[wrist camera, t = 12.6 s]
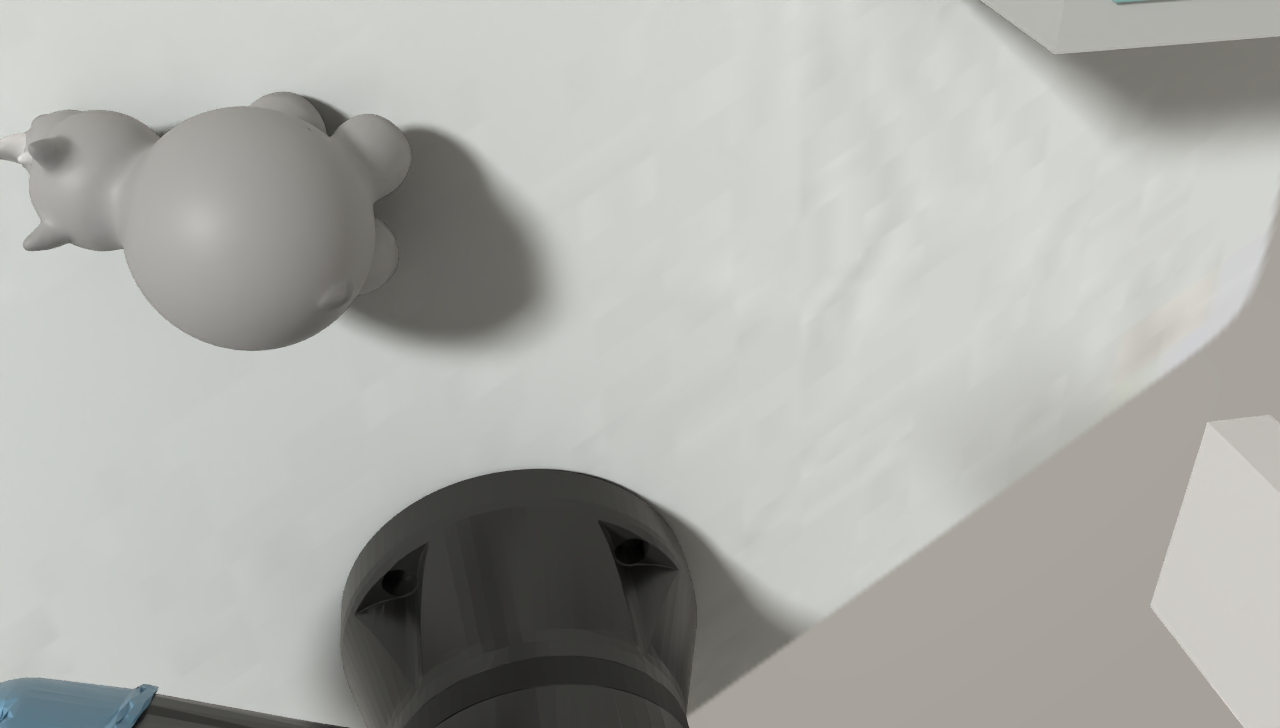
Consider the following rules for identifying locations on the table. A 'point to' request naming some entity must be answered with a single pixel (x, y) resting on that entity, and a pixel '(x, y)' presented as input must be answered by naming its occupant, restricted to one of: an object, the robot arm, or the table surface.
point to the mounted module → (1138, 22)
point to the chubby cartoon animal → (224, 211)
